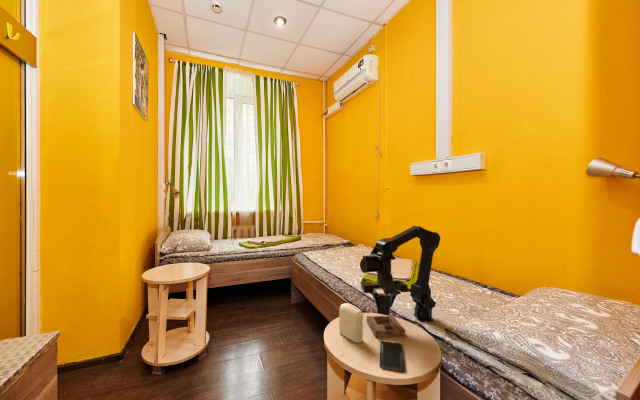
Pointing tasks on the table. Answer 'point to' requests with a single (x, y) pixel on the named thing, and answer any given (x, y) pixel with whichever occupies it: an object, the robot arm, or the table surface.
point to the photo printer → (351, 322)
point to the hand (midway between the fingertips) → (383, 307)
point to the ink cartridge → (383, 304)
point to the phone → (392, 356)
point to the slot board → (385, 326)
